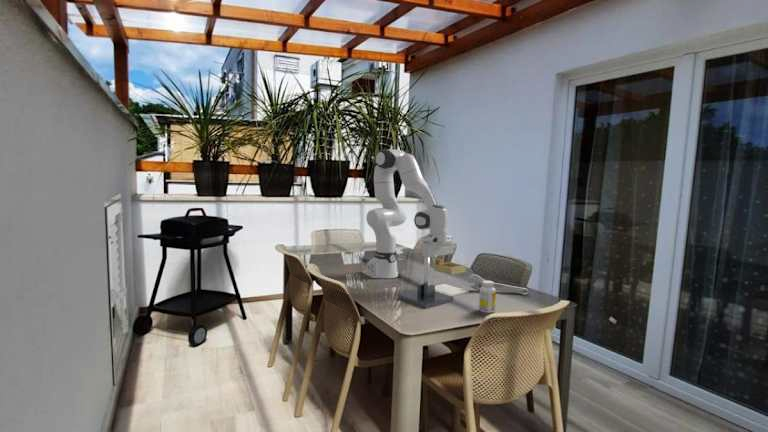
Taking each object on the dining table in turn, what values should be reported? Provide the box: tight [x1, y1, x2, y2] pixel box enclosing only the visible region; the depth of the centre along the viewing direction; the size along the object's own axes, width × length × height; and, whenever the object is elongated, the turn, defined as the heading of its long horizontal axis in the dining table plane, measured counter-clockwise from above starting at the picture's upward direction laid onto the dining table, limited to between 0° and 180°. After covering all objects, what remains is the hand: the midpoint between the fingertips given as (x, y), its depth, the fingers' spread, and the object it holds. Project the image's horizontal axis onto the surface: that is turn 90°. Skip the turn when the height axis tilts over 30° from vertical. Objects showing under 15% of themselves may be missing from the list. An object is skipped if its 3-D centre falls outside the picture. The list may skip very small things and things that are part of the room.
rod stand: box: [398, 257, 455, 309], centre depth 194 cm, size 18×18×20 cm
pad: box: [434, 283, 469, 297], centre depth 209 cm, size 16×16×1 cm
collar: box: [432, 257, 467, 276], centre depth 208 cm, size 16×11×5 cm
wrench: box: [467, 273, 530, 295], centre depth 210 cm, size 8×2×30 cm
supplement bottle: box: [478, 280, 497, 314], centre depth 180 cm, size 7×7×13 cm
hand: (437, 264), depth 212 cm, fingers closed on collar, 3 cm apart
